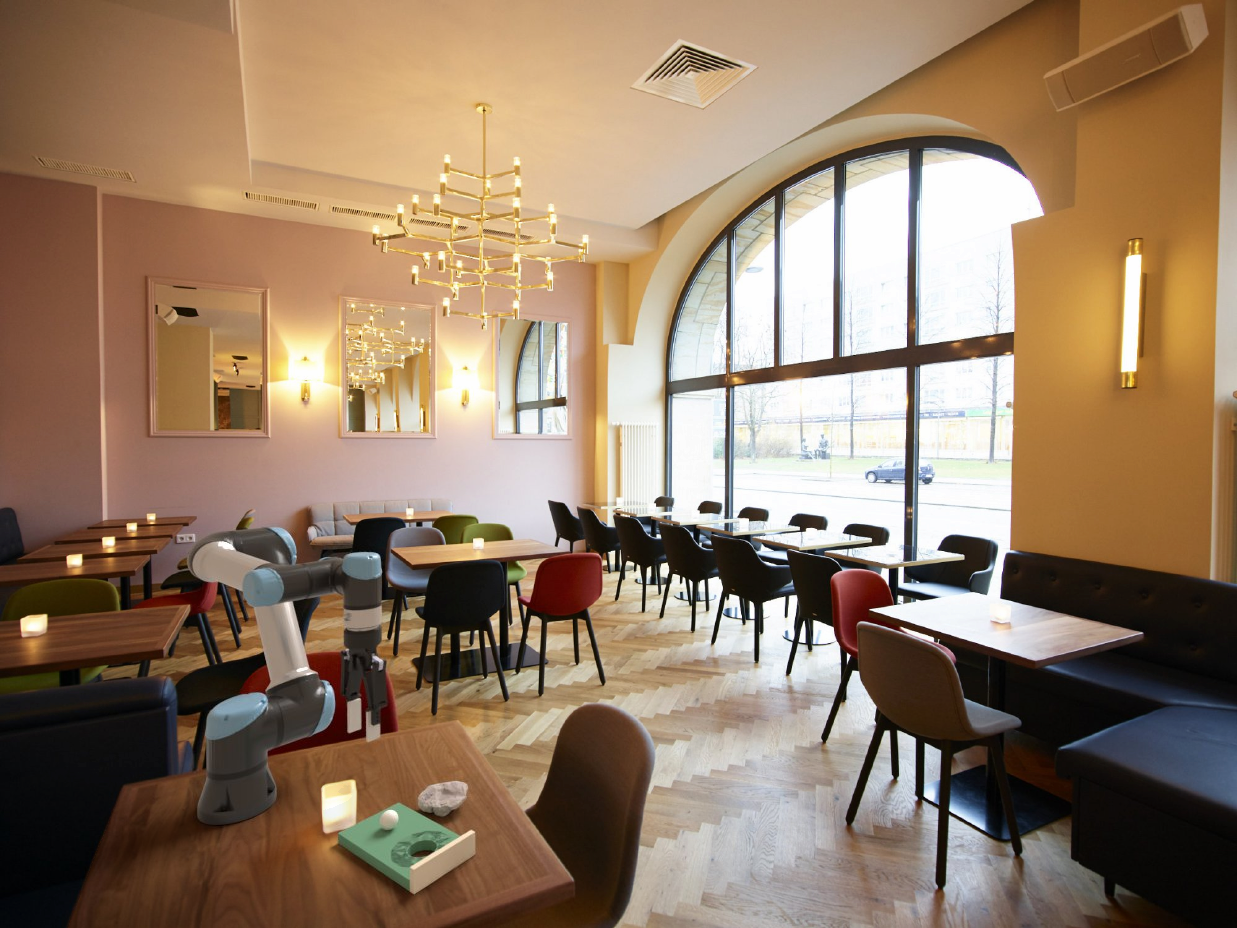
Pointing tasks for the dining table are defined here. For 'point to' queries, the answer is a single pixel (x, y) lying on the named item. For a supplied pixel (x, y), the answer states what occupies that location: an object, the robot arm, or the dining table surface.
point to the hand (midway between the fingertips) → (363, 734)
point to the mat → (408, 847)
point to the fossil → (442, 797)
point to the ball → (388, 819)
